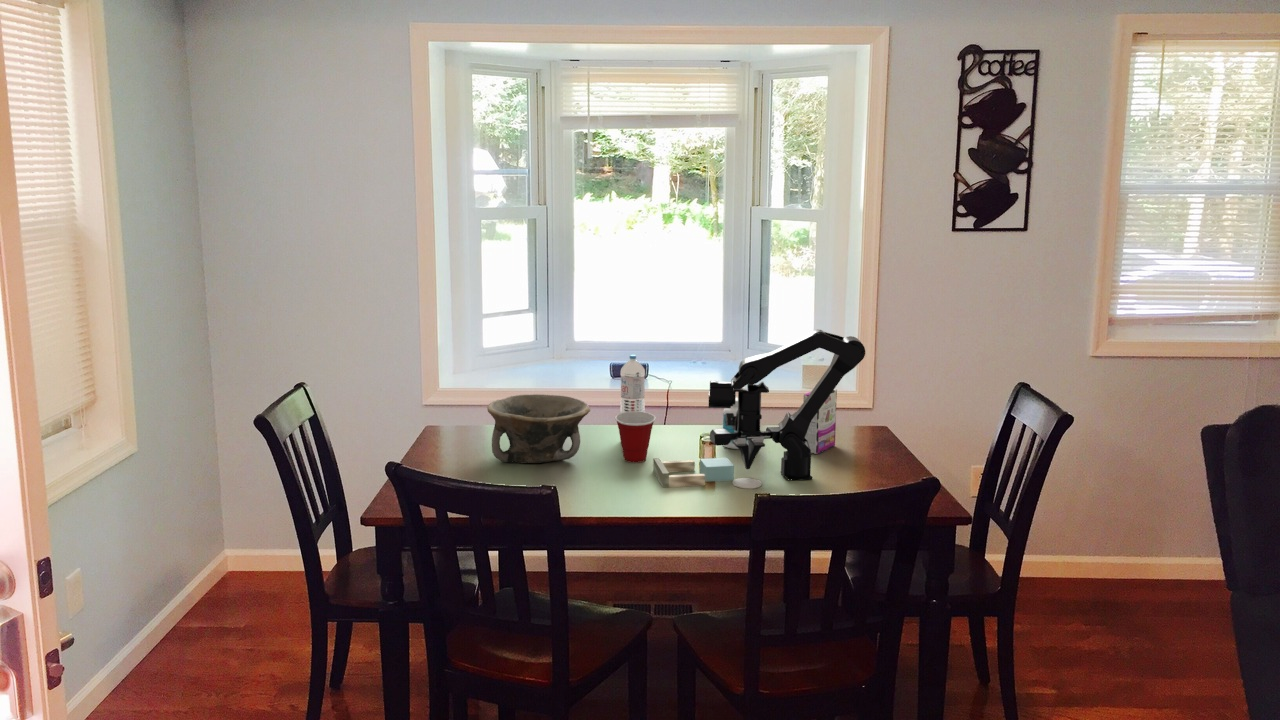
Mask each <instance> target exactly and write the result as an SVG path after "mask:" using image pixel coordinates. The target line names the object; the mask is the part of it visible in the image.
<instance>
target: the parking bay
mask: <svg viewBox="0 0 1280 720" xmlns="http://www.w3.org/2000/svg"><path fill="white" fill-rule="evenodd" d="M652 460H653V463H652V467H653V468H652V471H653V473H654V475H655V477H656V478H657V480H658V481H659V483H660V485H661V487H662V488H675V487H680V488H681V487H698V486H699V487H700V486H706V481H705V475H704V474H700V473H692V474H690V473H689V474H687V473H686V472H695V470H696V469H695V466H696V464H695V460H694V459H691V460H688V459H687V460H666V461H665V460H664V461H662V459H661V458H660V457H653V458H652ZM681 472H683V473H684V472H685V473H686V474H671V475H670V473H681Z"/></svg>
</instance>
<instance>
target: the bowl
mask: <svg viewBox="0 0 1280 720" xmlns="http://www.w3.org/2000/svg"><path fill="white" fill-rule="evenodd" d="M486 408H487V412H488V414H490V416H491V417H492V418H493V419H494V427H493V432H492V436H491V452H492V454H493V456H494V457H495V459H497V460H499V461H500V462H503V463H517V464H518V463H519V464H541V463H549V462H558V461H559V462H561V461H566V460H570V459H571V458H573V457H574V456H575V455H576V454H577V453H578V451H579V449H580V446H581V435H580V430H579V423H581V421H582V420H583V419H584V417H586V416H587V415H588V414H589V413H590V412H591V408H590V406H589V405H588V404H587V402H585V401H583V400H581V399H578V398H575V397H571V396H567V395H560V394H559V395H558V394H556V395H555V394H541V393H540V394H539V393H537V394H535V393H534V394H517V395H511V396H508V397H505V398H501V399H496V400H492V401H491V402H490V403H489V404H488V406H487V407H486ZM503 434H506V437H507V440H508V442H509V448H508V449H507V450H502V448H501V444H500V442H501V437H502V436H503ZM568 437H569V438H570V441H571V445H570V446H571V447H570V448H569V449H568V450H565V449H564V445H565V442H566V440H567V439H568Z"/></svg>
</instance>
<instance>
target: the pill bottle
mask: <svg viewBox="0 0 1280 720" xmlns="http://www.w3.org/2000/svg"><path fill="white" fill-rule="evenodd" d="M737 410H738V396H736V397H735V405H733V406H731V408H723V414H722V415H723V417H722V422H723V423H722V429H726V430H727V431H728V432H729V433H734V432H737V431H735V430H732V426H726V425H725V414H726V413H733V414H734V416H736V413H737ZM746 444H747V445H748V440H746ZM723 447H725V448H727V449H732V450H733V449H734V450H739V448H737V447H736V446H735V445H734V444H733V443H732V440H731V442H730V443H729V444H728V445H723Z"/></svg>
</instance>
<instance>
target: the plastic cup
mask: <svg viewBox="0 0 1280 720" xmlns="http://www.w3.org/2000/svg"><path fill="white" fill-rule="evenodd" d="M656 418H657V417H656V415H655V414H652V413H650V412H647V411H645V412H642V411H628V412H623V413H621V412H620V413H618V414H616V415H615V417H614V419H615V421H616V423H617V424H616V425H617V428H618V434H619V437H620V438H619V439H620V445H621V449H622V455H623V458H624V459H623V460H624V461H625V462H628V463H634V464H635V463H644V462H645V461H646V459H647V456H648V452H649V451H648V449H649V447H650V440H651V434H652V430H653V425H654V423H655V421H656Z"/></svg>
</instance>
